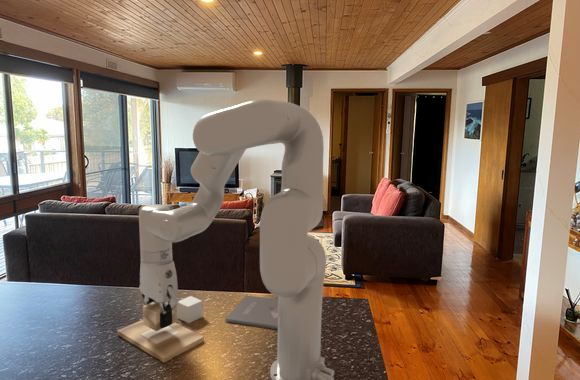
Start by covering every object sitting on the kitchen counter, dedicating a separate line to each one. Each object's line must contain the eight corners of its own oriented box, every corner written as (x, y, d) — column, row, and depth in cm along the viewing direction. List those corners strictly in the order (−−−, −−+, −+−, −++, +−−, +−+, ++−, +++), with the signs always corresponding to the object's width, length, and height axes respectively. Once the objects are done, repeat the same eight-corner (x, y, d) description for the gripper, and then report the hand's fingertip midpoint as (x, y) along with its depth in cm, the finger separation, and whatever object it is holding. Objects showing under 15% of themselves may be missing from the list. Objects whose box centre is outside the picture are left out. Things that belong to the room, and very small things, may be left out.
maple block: (174, 322, 104) (174, 304, 103) (156, 331, 100) (155, 312, 99) (161, 316, 108) (161, 298, 107) (143, 324, 103) (142, 305, 102)
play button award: (245, 295, 129) (307, 302, 124) (245, 299, 129) (307, 307, 124) (225, 318, 113) (294, 328, 108) (225, 323, 113) (294, 333, 108)
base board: (203, 341, 103) (203, 336, 103) (163, 362, 94) (163, 357, 93) (157, 317, 115) (157, 313, 115) (117, 334, 106) (117, 330, 105)
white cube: (202, 317, 116) (202, 300, 115) (188, 323, 112) (188, 306, 111) (191, 311, 119) (190, 295, 118) (177, 318, 115) (176, 301, 114)
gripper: (190, 258, 98) (192, 327, 101) (149, 244, 109) (152, 307, 112) (164, 266, 93) (167, 339, 96) (123, 251, 103) (127, 317, 106)
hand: (158, 321), depth 104 cm, fingers closed on maple block, 5 cm apart
